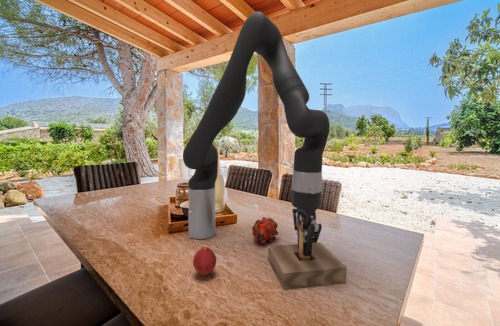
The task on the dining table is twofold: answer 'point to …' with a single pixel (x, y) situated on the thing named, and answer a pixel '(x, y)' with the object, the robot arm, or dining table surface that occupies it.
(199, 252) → the onion
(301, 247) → the peg
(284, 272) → the hole block
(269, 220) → the dragon fruit
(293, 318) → the dining table surface
